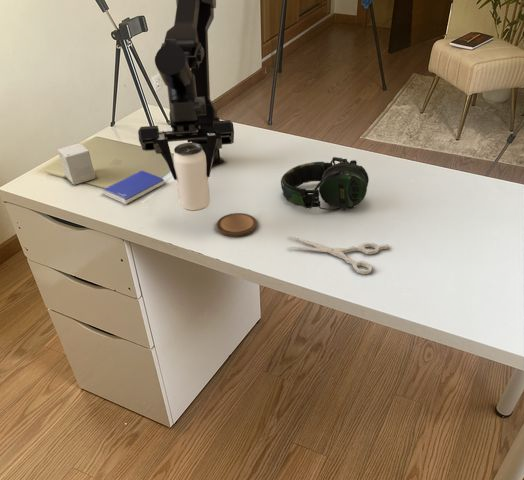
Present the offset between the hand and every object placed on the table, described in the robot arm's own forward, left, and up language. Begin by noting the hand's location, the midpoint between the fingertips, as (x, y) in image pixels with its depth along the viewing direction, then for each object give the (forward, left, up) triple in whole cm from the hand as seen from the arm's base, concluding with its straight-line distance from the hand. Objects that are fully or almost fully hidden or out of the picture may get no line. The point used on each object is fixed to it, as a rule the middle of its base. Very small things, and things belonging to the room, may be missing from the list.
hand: (191, 177), depth 107 cm
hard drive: (0, -26, -13) cm, 29 cm away
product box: (+7, -41, -13) cm, 44 cm away
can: (-1, -1, -7) cm, 7 cm away
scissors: (-16, +26, -13) cm, 33 cm away
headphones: (-30, +9, -13) cm, 33 cm away
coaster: (-8, +4, -12) cm, 15 cm away
